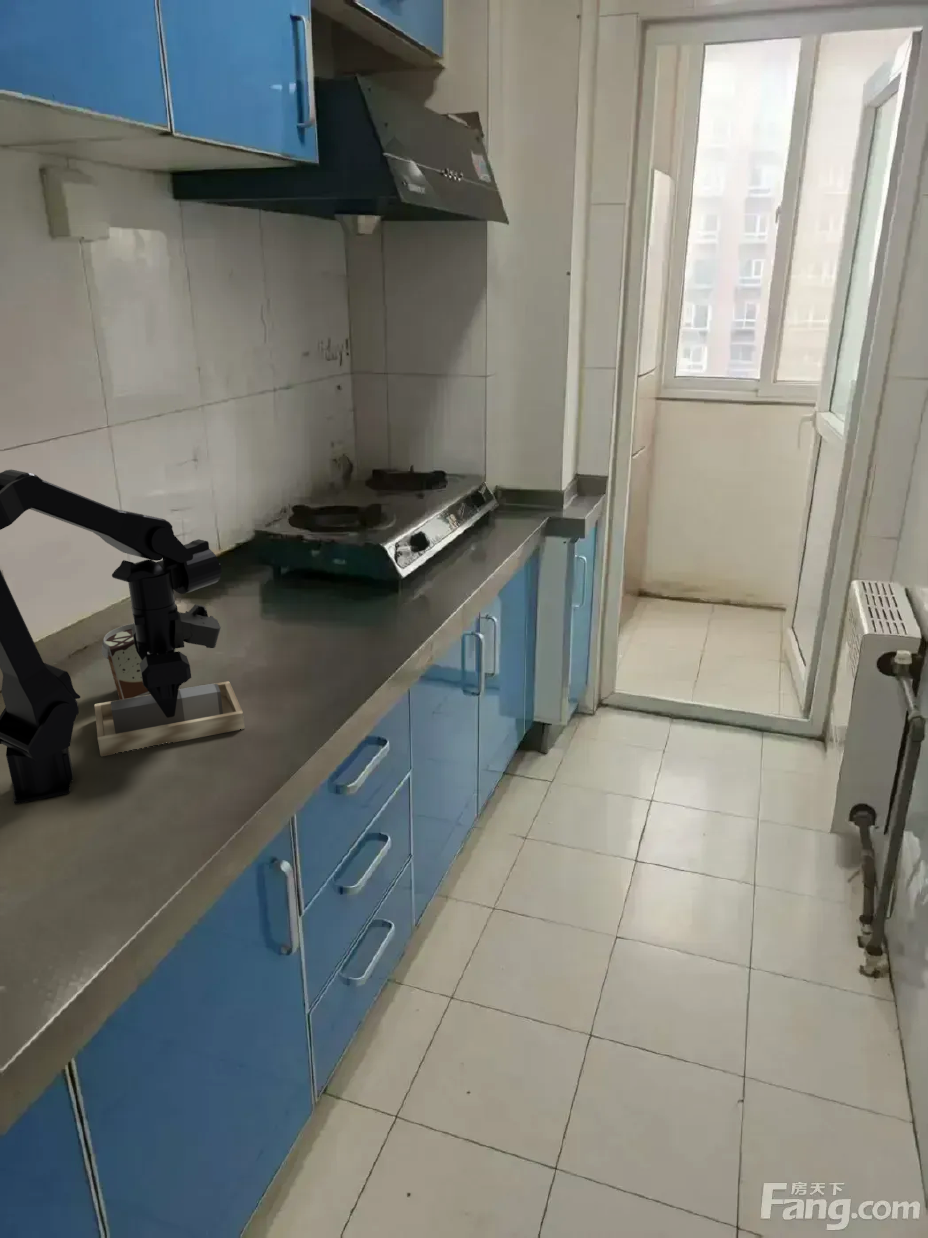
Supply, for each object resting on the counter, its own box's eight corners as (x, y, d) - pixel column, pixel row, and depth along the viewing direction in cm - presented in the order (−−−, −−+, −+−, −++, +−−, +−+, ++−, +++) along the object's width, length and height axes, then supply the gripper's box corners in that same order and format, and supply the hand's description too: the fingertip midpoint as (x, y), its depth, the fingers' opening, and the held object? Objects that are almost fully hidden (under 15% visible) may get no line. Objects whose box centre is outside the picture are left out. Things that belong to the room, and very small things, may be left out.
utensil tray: (100, 756, 117) (97, 739, 116) (97, 719, 127) (94, 704, 126) (244, 728, 125) (243, 713, 124) (230, 696, 135) (229, 681, 134)
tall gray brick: (219, 707, 130) (217, 682, 128) (223, 716, 127) (220, 691, 126) (114, 725, 124) (110, 700, 123) (115, 735, 122) (111, 710, 120)
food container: (163, 669, 144) (155, 614, 140) (184, 679, 140) (177, 623, 137) (94, 694, 135) (84, 636, 131) (114, 706, 131) (105, 646, 128)
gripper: (223, 617, 114) (234, 720, 120) (203, 576, 130) (213, 669, 136) (135, 629, 110) (151, 736, 116) (125, 585, 126) (139, 681, 131)
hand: (167, 703), depth 125 cm, fingers open, 9 cm apart
